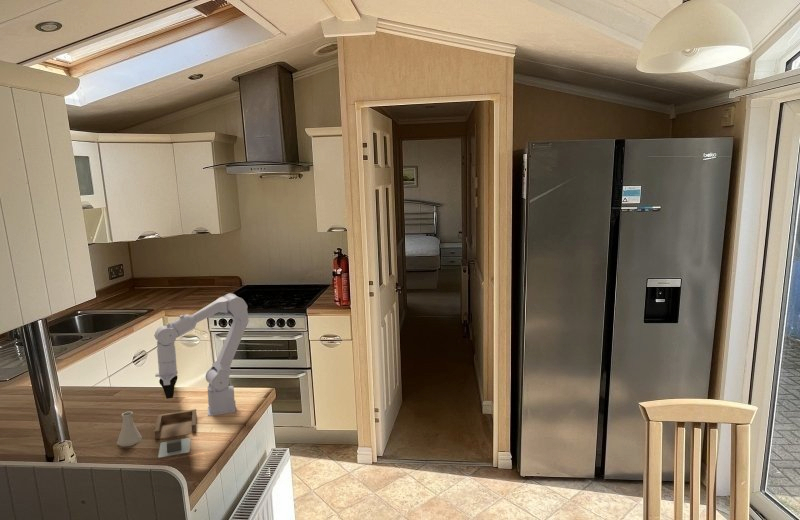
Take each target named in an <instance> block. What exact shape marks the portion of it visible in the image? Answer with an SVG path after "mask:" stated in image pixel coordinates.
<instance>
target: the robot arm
mask: <svg viewBox="0 0 800 520" xmlns="http://www.w3.org/2000/svg"><path fill="white" fill-rule="evenodd" d="M217 313H223V314H229V316H230V318H231V319H232V322H231V325H230V328H229V330H228V332H227V335H226V337H225V340H224V342H223V345H222V346H221V350H220V352H219V355H218V357H217V359H216V361H214V362H213V363H212V365H211V367H210V368H209V369H208V370H207V371H206V373H205V380H206V381H207V383H208V386H207V401H208V402H207V403H208V406H207V416H208V417H211V416H216V415H222V414H223V415H224V414H229V413H230V414H231V413H235V412H236V400H235V389H234V388H235V387H234V385H229V384H230V375H231V373H232V371H231V370H232V369H231V365H232V363H233V360H234V358H235V355H236V353H237V350H238V347H239V345H240V343H241V341H242V338H243V335H244V333H245V330H246V329H247V326H248V324H249V315H248V314H249V313H248V304H247V302H246V301H245V300H244V299H243V298H242V297H239V296H237V295H236V294H235V293H232V292H231V293H227V294H225V295H223V296H220V297H218V298H217V299H216V300H214V301H212V302H211V303H208V305H206V306H204V307H202V308H201V309H200V310H198V311H196V312H195V313H192V314H187V313H185V314H180V315H179V318H177V319H175V320H173V321H171V322H167V323H166V325H161V326H159V327H158V328H157V329H156V331H155V332H154V338H155V340H156V347H157V349H156V351H157V353H156V354H157V364H158V367H157V368H158V372H156V373H155V374H154V375H155V377H156V378H157V377H159V380H158V381H159V385H160V386H161V388H162V389H163V392H164V394H165V395H164V396H165V398H166V400H167V399H173V398H174V395H175V387H176V383H177V380H178V373H179V372H178V366H177V353H176V345H175V342H176V340H177V338H179V337H181V336H184V335H186V334H187V333H189V332H191V331H192V330H194V329H195V328H196V327H197V324H198V323H200V322H201V321H203V320H206V319H207V318H209V317H211V316H213V315H215V314H217Z"/></svg>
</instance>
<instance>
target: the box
mask: <svg viewBox="0 0 800 520" xmlns="http://www.w3.org/2000/svg"><path fill="white" fill-rule="evenodd" d="M197 416H198V415H197V408H195V409H189V410H182V411H175V412H168V413H162V414H158V415H157V419H156V423H155V428H154V438H155V439H154V440H160V439H161V440H162V439H167V438H173V437H178V436H180V437H181V436H184V435H190V434H196V433H197V418H198V417H197Z"/></svg>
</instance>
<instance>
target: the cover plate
mask: <svg viewBox="0 0 800 520" xmlns="http://www.w3.org/2000/svg"><path fill="white" fill-rule="evenodd" d="M159 445H160V446H159V449H158V453H157V454H158V456H157V458H158V459H160V458H164V457H171V456H177V455H182V454H185V453H191V452H190V451H191V437H186V438H185V437H184V438H176V439H172V440H167V441H162V442H160V444H159Z"/></svg>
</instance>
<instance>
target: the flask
mask: <svg viewBox="0 0 800 520" xmlns="http://www.w3.org/2000/svg"><path fill="white" fill-rule="evenodd" d="M133 414H134V412H133V411H125V412H122V414H121V417H122V425H121V430H120V432H119V436H118V438H117V442H116V444H115V445H117V446H119V447H123V448H124V447H132V446H134V445H136V444H138V443H140V442H141V441H142V439H143V437H142V435H141V433H140V431H139V429H138V428H137V426H136V424H135V421H134V419H133Z"/></svg>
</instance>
